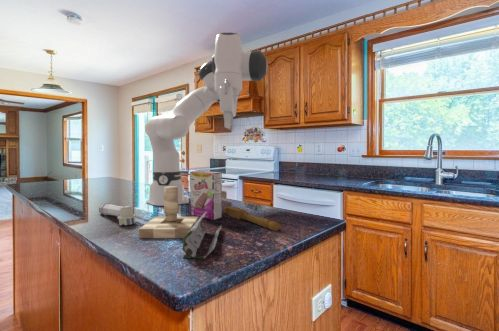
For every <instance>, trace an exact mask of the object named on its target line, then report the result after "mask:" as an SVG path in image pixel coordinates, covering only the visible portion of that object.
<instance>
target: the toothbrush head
mask: <svg viewBox="0 0 499 331" xmlns="http://www.w3.org/2000/svg"><path fill="white" fill-rule="evenodd" d="M98 209H99V210H98V212H99V213H100V214H101V215H104V216H117V220H118V224H119V226H123V225H124V226H129V225H130V226H131V225H135V223H136V220H135V219H136V216H137V215H136V214H134V213H133V212H134V211H133V207H132V206H131V205H128V206H121V205H115V204H112V203H110V202H108V203H104V204H101V205H100V206H99V207H98Z"/></svg>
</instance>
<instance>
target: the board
mask: <svg viewBox="0 0 499 331" xmlns="http://www.w3.org/2000/svg"><path fill="white" fill-rule="evenodd" d="M165 220H166V217H165V216H154V217H153V218H152V219H150V220H149V221H148V222H147V223H145V224H144V225H142V226H141V227H140V228H138V238H139V239H183V238H184V236H186V234H187V233H188V232H189V231H190V229H191V228H192V227H193V226H194V225H195V223H196V222H197V221H198V220H199V217H194V216H177V224H166V222H165Z"/></svg>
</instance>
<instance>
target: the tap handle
mask: <svg viewBox="0 0 499 331" xmlns="http://www.w3.org/2000/svg"><path fill="white" fill-rule="evenodd" d="M223 212H224V213H225V214H227V216H230V217H231V218H234V219H237V220H243V221H249V222H250V223H253V224H255V225H257V226H260V227H262V228H266V229H269V230H271V231H274V232H276V231H279V229H280V223H279V222H278V221H274V220H272V219H268V218H265V217H261V216H257V215H254V214H250V213H248V212H247V210H246V209H243V208H239V207H236V206H228V205H227V206H224V208H223Z"/></svg>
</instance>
